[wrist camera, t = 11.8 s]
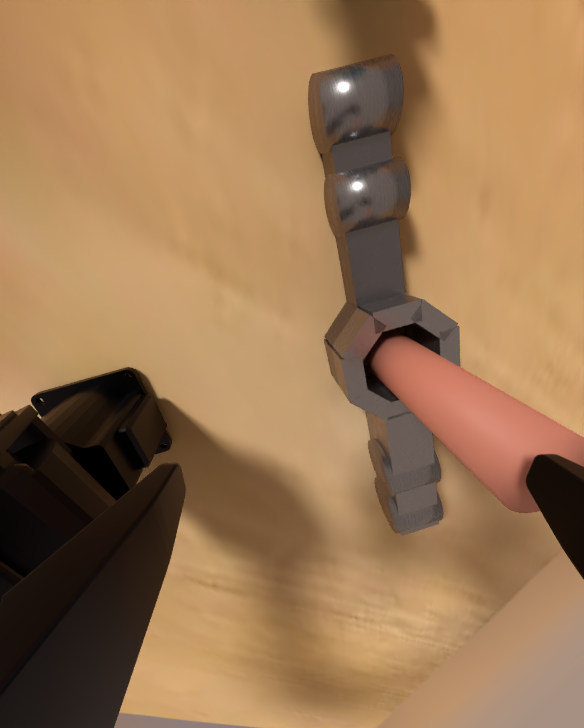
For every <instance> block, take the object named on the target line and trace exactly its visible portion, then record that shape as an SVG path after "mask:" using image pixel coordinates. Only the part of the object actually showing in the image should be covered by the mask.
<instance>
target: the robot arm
mask: <svg viewBox="0 0 584 728" xmlns="http://www.w3.org/2000/svg"><path fill="white" fill-rule="evenodd" d="M125 373H128V374H130V375H131V376H132V378H128V377H126V375H125ZM40 398H42V399H43V400H44V401H45V402H42V401H41V400H40ZM31 402H32V404H33V406H34V407H35V409H36V410H37V411H38V412H37V411H36V410H35V409H34V408H33V407H32V406H31V405H28V406H26V407H24V408H22V409H20V410H18V411H16V412H14V411H13V410H12V411H10V412H7V413H5V414H3V415H1V414H0V728H114V726H115V723H116V720H117V717H118V714H119V711H120V708H121V705H122V702H123V699H124V696H125V693H126V690H127V687H128V684H129V681H130V678H131V675H132V672H133V670H134V667H135V664H136V661H137V658H138V655H139V652H140V649H141V646H142V643H143V640H144V637H145V634H146V631H147V628H148V625H149V622H150V619H151V616H152V613H153V610H154V607H155V604H156V601H157V598H158V595H159V592H160V589H161V587H162V584H163V581H164V578H165V575H166V572H167V569H168V565H169V562H170V559H171V555H172V551H173V546H174V542H175V538H176V533H177V529H178V525H179V520H180V516H181V512H182V507H183V503H184V498H185V491H186V489H185V483H184V479H183V474H182V470H181V466H180V465H179V464H178V463H164V464H161V465H160V466H158V467H157V468H156V469H155V470H153V471H152V472H151V473H150V474H149V475H147V476H146V477H145V478H144V479H143V480H141V481H140V482H139V483H138V484H137V485H136V483H137V481H138V479H139V477H140V475H141V472H142V470H143V469H144V468H147V467H149V465H150V463H151V461H152V459H153V456H154V454H158V453H161V452H165V451H167V450H169V449H170V447H171V445H172V440H171V438H170V436H169V434H168V432H167V430H166V427H167V424H166V422H165V420H164V418H163V416H162V414H161V412H160V410H159V408H158V406H157V404H156V402H155V400H154V398H153V396H152V395H150V394H148V392H147V390H146V389H145V387H144V385H143V383H142V381H141V379H140V377H139V375H138V373H137V371H136V370H135V369H133V368H130V367H127V368H123V369H119V370H116V371H112V372H109V373H105V374H102V375H98V376H94V377H91V378H87V379H84V380H80V381H77V382H73V383H70V384H66V385H63V386H59V387H55V388H52V389H48V390H45V391H41V392H39V393H37V394H35V395H34V396H33V397H32V398H31ZM38 414H40V416H41V417H42V418H41V419H40V418H39V417H38V416H37V415H38ZM163 442H164V443H166V444H167V445H163V444H162V443H163ZM525 481H526V486H527V488H528V490H529V492H530V493H531V495H532V497H533V499H534V500H535V502H536V504H537V506H538V507H539V509H540V511H541V512H542V514H543V516H544V518H545V519H546V521H547V523H548V525H549V526H550V528H551V530H552V531H553V533H554V535H555V537H556V538H557V540H558V542H559V543H560V545H561V547H562V548H563V550H564V551H565V553H566V554H567V556H568V557H569V559H570V560H571V562H572V563H573V565H574V566H575V568H576V569H577V571H578V572H579V573H580V575H581V576H582V578H583V579H584V467H583V466H581V465H579V464H577V463H575V462H572V461H570V460H568V459H566V458H564V457H562V456H559V455H556V454H539V455H537V456H535V457H534V459H533V462H532V464H531V466H530V469H529V471H528V473H527V476H526V480H525Z"/></svg>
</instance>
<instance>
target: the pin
mask: <svg viewBox="0 0 584 728" xmlns="http://www.w3.org/2000/svg"><path fill="white" fill-rule="evenodd" d="M363 363H364V364H365V365H366V366H367V367H368V368H369V369H370V370H371V371H372V372H373V373H374V374H375V375H376V376H377V377H378V378H379V379H380V380H381V381H382V382H383V383H384V384H385V385H386V386H387V387H388V388H389V389H390V390H391V391H392V392H393V394H394V395H395V396H396V397H397V398H398V399H399V400H400V401H401V402H402V403H403V404H404V405H405V406H406V407H407V408H408V409H409V410H410V411H411V412H412V413H413V414H414V415H415V416H416V417H417V418H418V419H419V420H420V421H421V422H422V423H423V424H424V425H425V426H426V427H427V428H428V429H429V430H430V431H431V432H432V433H433V434H434V435H435V436H436V437H437V438H438V439H439V440H440V441H441V442H442V443H443V444H444V445H445V446H446V447H447V448H448V449H449V450H450V451H451V452H452V453H453V454H454V455H455V456H456V457H457V458H458V459H459V460H460V461H461V462H462V463H463V464H464V465H465V466H466V467H467V468H468V469H469V470H470V471H471V472H472V473H473V474H474V475H475V476H476V477H477V478H478V479H479V480H480V481H481V482H482V483H483V484H484V485H485V486H486V487H487V488H488V489H489V490H490V491H491V492H492V493H493V494H494V495H495V496H496V497H497V498H498V499H499V500H500V501H501V502H502V503H503V504H504V505H505V506H506V507H507V508H508V509H510V510H512V511H515V512H519V513H531V512H537V511H540V509H539V507H538V506H537V504H536V502H535V500H534V499H533V497H532V495H531V493H530V492H529V490H528V488H527V486H526V481H525V480H526V476H527V473H528V471H529V469H530V466H531V464H532V462H533V459H534V457H535V456H537V455H539V454H556V455H559V456H562V457H564V458H566V459H568V460H570V461H572V462H575V463H577V464H579V465H581V466H583V467H584V437H582V436H580V435H578V434H576V433H575V432H573V431H571V430H569V429H568V428H566V427H564V426H562V425H561V424H559V423H557V422H555V421H554V420H552V419H550V418H548V417H547V416H545V415H543V414H541V413H540V412H538V411H536V410H534V409H533V408H531V407H529V406H527V405H526V404H524V403H522V402H520V401H519V400H517V399H515V398H513V397H512V396H510V395H508V394H506V393H505V392H503V391H501V390H499V389H498V388H496V387H494V386H492V385H491V384H489V383H487V382H485V381H484V380H482V379H480V378H478V377H477V376H475V375H473V374H471V373H470V372H468V371H466V370H464V369H463V368H461V367H459V366H457V365H456V364H454V363H452V362H450V361H449V360H447V359H445V358H443V357H442V356H440V355H438V354H436V353H435V352H433V351H431V350H429V349H428V348H426V347H424V346H422V345H420V344H419V343H417V342H415V341H413V340H412V339H410V338H408V337H406V336H405V335H403V334H401V333H399V332H398V331H396V330H394V329H391V330H388V331H384V332H382V333H381V335H380V336H379V338H378V339H377V341H376V342H375V344H374V345H373V346H372V348H371V349H370V351H369V352H368V354H367V355H366V357H365V358H364V360H363Z"/></svg>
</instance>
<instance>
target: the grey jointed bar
mask: <svg viewBox="0 0 584 728" xmlns="http://www.w3.org/2000/svg"><path fill="white" fill-rule="evenodd" d="M308 105H309V117H310V124H311V130H312V135H313V139H314V142H315V145H316V148H317V150H318V151H319V153H321V155H322V161H323V167H324V173H325V178H326V179H325V183H324V200H325V208H326V214H327V218H328V222H329V225H330V227H331V230H332V232H333V234H334V235H335V236H336V242H337V248H338V254H339V260H340V265H341V271H342V277H343V283H344V288H345V294H346V300H347V302H346V303H345V305H344V307H343V308H342V310H341V311H340V313H339V314H338V316H337V318H336V319H335V321H334V322H333V324H332V326H331V327H330V329H329V330H328V332H327V333H326V335H325V338H326V339H324V342H325V347H326V351H327V356H328V361H329V365H330V370H331V374H332V376H333V377H334V379H335V380H336V382H337V383H338V385H339V386H340V388H341V389H342V391H343V392H344V394H345V395H346V397H347V399H348V400H349V401H350V403H352V404H354V405H356V406H358V407H360V408H362V409H364V410H366V416H367V422H368V427H369V433H370V439H371V440H369V441H368V449H369V454H370V458H371V461H372V464H373V467H374V470H375V472H376V475H377V478H375V488H376V492H377V495H378V498H379V501H380V504H381V507H382V509H383V512H384V514H385V516H386V519H387V521H388V523H389V525H390V526H391V528H392V530H393V531H394V532H395V533H396V534H398V533H401V535H405V534H408V533H412V532H415V531H418V530H421V529H424V528H427V527H431V526H434V525H437V524H439V520H442V519H443V508H442V504H441V501H440V498H439V495H438V493H437V491H436V483H438V482H439V481H440V479H441V469H440V465H439V461H438V458H437V455H436V453H435V451H434V447H433V433H432V432H431V431H430V430H429V429H428V428H427V427H426V426H425V425H424V424H423V423H422V422H421V421H420V420H419V419H418V418H417V417H416V416H415V415H414V414H413V413H412V412H411V411H410V410H409V409H408V408H407V407H406V406H405V405H404V404H403V403H402V402H401V401H400V400H399V399H398V398H397V397H396V396H395V395H394V394H393V392H392V391H391V390H390V389H389V388H388V387H387V386H386V385H385V384H384V383H383V382H382V381H381V380H380V379H379V378H378V377H377V376H376V375H375V374H371V375H368V376H367V375H365V372H364V365H363V360H364V358H365V357H366V355H367V354H368V352H369V351H370V349H371V348H372V346H373V345H374V344H375V342H376V341H377V339H378V338H379V336H380V335H381V333H382V332H384V331H388V330H391V329H395V328H398V327H402V326H406V337H408V338H410V339H412V340H413V341H415V342H417V343H419V344H420V345H422V346H424V347H426V348H428V349H429V350H431V351H433V352H435V353H436V354H438V355H440V356H442V357H443V358H445V359H447V360H449V361H450V362H452V363H454V364H456V365H457V366H459V367H460V337H459V326H458V325H457V324H458V323H456V322H455V321H454V320H452V319H451V318H449V317H448V316H446V315H445V314H443V313H442V312H441V311H439V310H438V309H436V308H435V307H433V306H432V305H431V304H429V303H428V302H426V301H425V300H423V299H420V298H416V297H413V296H410V295H407V294H405V288H404V277H403V266H402V255H401V244H400V234H399V223H398V220H401V219H403V218H404V216H405V215H406V213H407V211H408V208H409V204H410V197H411V184H410V177H409V172H408V169H407V167H406V165H405V163H404V161H403V160H402V159H401V158H399V157H394V158H392V147H391V135H392V134H393V133H394V132H395V130H396V128H397V126H398V123H399V120H400V116H401V112H402V105H403V78H402V72H401V67H400V64H399V62H398V60H397V58H396V57H395V56H394V55H391V54H390V55H386V56H382V57H378V58H374V59H370V60H366V61H362V62H358V63H354V64H350V65H346V66H342V67H338V68H334V69H330V70H326V71H322V72H318V73H314V74H312V75H311V77H310V81H309V89H308Z"/></svg>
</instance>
